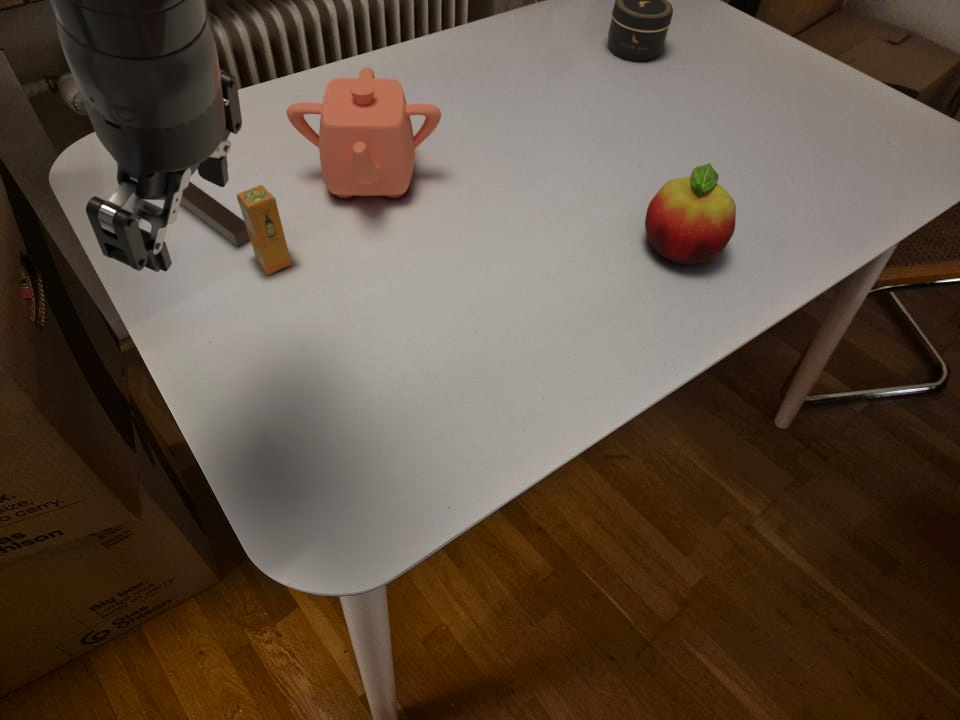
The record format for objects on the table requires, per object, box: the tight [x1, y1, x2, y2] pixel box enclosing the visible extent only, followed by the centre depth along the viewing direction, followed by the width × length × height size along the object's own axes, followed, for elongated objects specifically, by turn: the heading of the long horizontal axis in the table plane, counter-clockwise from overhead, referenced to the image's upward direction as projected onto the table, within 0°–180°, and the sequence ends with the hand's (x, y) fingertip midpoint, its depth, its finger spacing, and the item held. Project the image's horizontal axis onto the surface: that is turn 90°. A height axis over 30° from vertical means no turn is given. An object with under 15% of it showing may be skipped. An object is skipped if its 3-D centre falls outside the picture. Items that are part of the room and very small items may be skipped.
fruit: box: [644, 162, 737, 265], centre depth 82 cm, size 11×11×10 cm
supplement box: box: [236, 184, 293, 276], centre depth 76 cm, size 3×3×10 cm
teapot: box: [286, 67, 442, 199], centre depth 85 cm, size 17×16×13 cm
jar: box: [607, 0, 674, 62], centre depth 114 cm, size 10×10×8 cm
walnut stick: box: [180, 181, 251, 248], centre depth 83 cm, size 2×14×2 cm, turn 50°
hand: (186, 220), depth 52 cm, fingers open, 8 cm apart
